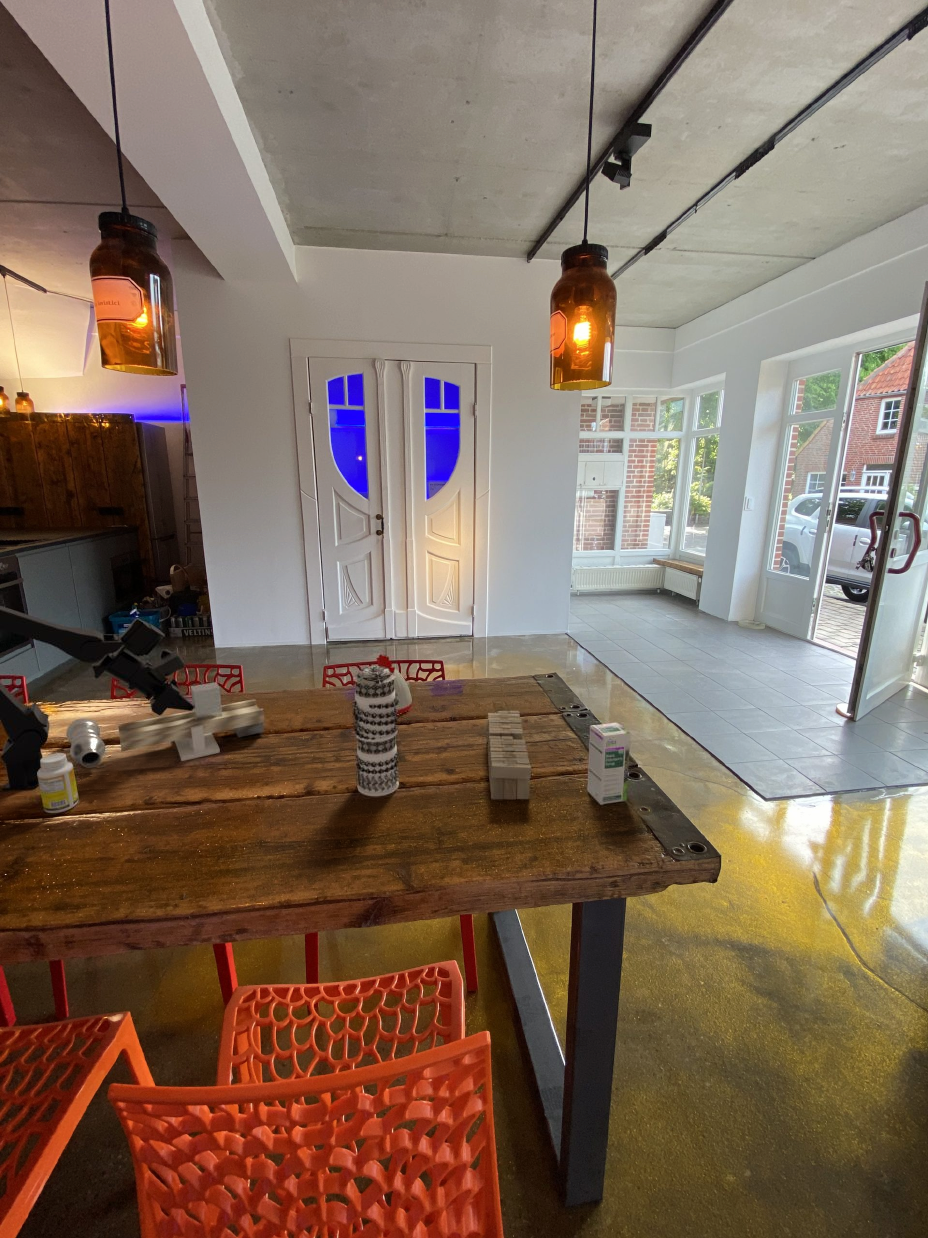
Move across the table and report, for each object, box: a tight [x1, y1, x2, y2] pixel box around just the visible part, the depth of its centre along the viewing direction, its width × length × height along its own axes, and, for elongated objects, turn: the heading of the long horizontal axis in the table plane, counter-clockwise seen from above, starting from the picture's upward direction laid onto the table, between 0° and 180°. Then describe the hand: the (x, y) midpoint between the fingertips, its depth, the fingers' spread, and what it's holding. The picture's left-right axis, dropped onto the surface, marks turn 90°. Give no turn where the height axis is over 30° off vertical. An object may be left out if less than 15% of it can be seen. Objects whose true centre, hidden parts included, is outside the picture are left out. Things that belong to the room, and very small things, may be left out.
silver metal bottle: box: [65, 717, 107, 768], centre depth 128 cm, size 6×7×20 cm
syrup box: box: [586, 721, 631, 806], centre depth 111 cm, size 6×6×14 cm
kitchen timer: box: [375, 654, 413, 714], centre depth 157 cm, size 14×14×15 cm
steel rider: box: [190, 681, 222, 721], centre depth 134 cm, size 6×4×8 cm
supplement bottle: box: [37, 752, 80, 814], centre depth 107 cm, size 6×6×10 cm
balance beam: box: [117, 698, 265, 752], centre depth 133 cm, size 30×8×6 cm, turn 123°
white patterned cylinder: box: [351, 665, 400, 797], centre depth 114 cm, size 9×9×25 cm
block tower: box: [486, 710, 532, 800], centre depth 123 cm, size 8×8×29 cm
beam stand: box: [174, 725, 221, 762], centre depth 134 cm, size 8×14×7 cm, turn 33°
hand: (192, 708), depth 132 cm, fingers closed
